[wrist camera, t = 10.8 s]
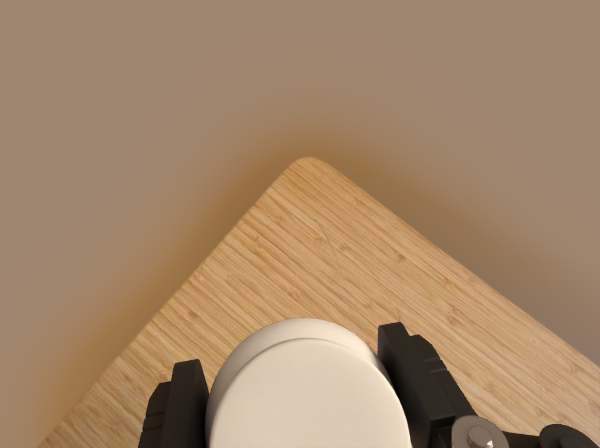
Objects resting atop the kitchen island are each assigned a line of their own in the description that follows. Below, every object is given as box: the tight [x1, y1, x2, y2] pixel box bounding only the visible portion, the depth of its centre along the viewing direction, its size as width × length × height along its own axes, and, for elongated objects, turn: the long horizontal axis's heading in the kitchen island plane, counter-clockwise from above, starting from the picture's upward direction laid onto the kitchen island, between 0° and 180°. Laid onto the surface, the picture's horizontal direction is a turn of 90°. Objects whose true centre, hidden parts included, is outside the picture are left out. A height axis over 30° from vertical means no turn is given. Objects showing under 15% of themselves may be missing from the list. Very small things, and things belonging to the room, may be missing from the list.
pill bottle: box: [205, 318, 411, 448], centre depth 14 cm, size 6×6×11 cm
